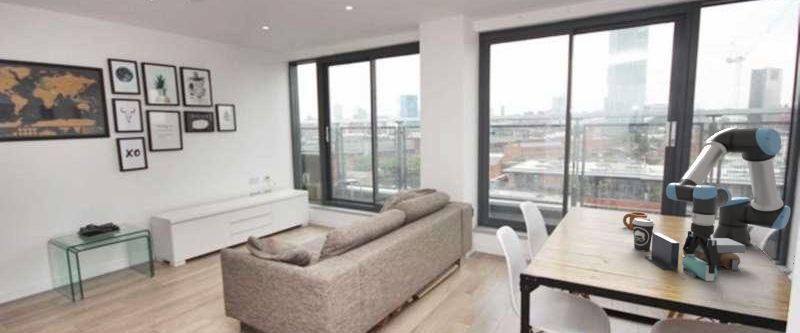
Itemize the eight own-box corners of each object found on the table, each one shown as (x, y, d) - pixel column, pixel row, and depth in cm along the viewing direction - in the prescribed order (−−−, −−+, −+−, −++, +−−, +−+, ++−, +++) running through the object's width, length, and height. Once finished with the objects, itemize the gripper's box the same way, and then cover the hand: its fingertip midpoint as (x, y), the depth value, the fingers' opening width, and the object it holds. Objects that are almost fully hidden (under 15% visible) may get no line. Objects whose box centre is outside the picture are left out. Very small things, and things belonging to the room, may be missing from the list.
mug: (625, 225, 240) (625, 210, 239) (647, 228, 232) (648, 213, 231) (621, 227, 234) (622, 213, 233) (644, 231, 226) (645, 216, 225)
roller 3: (700, 257, 182) (702, 243, 181) (716, 257, 182) (717, 243, 181) (723, 269, 168) (725, 254, 167) (740, 269, 167) (742, 254, 167)
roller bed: (711, 257, 183) (712, 246, 183) (755, 278, 158) (756, 267, 158) (658, 256, 185) (659, 246, 184) (693, 278, 160) (694, 266, 160)
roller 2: (682, 270, 169) (682, 255, 169) (698, 269, 169) (698, 255, 168) (700, 281, 158) (700, 265, 157) (717, 280, 157) (717, 265, 157)
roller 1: (681, 257, 183) (682, 243, 182) (696, 257, 182) (698, 243, 182) (702, 269, 169) (704, 254, 168) (719, 269, 168) (720, 254, 167)
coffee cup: (656, 252, 191) (658, 222, 189) (635, 251, 193) (636, 221, 191) (648, 246, 200) (650, 217, 198) (628, 245, 202) (629, 217, 200)
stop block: (657, 257, 184) (659, 232, 183) (677, 269, 169) (679, 242, 168) (644, 257, 185) (645, 232, 183) (663, 269, 170) (664, 242, 168)
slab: (727, 245, 178) (728, 238, 178) (744, 253, 169) (745, 245, 168) (685, 245, 180) (686, 237, 180) (700, 252, 170) (700, 244, 170)
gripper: (675, 216, 173) (672, 263, 175) (713, 231, 149) (709, 286, 152) (693, 216, 172) (689, 264, 175) (734, 231, 149) (730, 286, 151)
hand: (698, 274), depth 163 cm, fingers closed on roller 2, 11 cm apart
